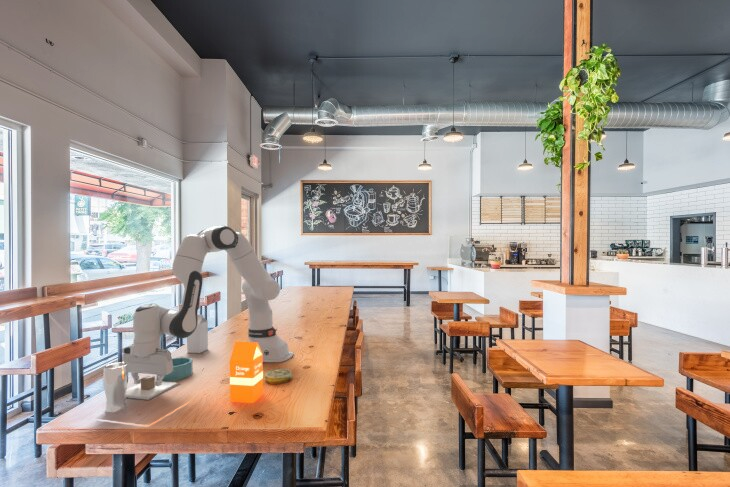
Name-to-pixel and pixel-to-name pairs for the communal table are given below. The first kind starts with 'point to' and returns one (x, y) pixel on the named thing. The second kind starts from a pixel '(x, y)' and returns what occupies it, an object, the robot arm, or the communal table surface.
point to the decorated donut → (278, 376)
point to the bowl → (180, 369)
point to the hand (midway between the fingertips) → (147, 384)
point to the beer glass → (115, 386)
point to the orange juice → (246, 372)
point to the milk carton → (198, 337)
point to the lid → (148, 388)
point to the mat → (154, 396)
